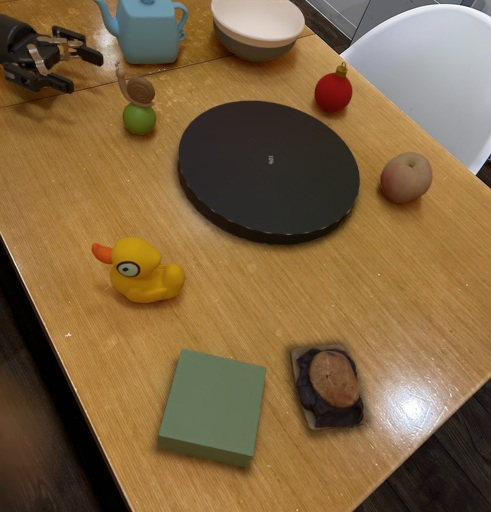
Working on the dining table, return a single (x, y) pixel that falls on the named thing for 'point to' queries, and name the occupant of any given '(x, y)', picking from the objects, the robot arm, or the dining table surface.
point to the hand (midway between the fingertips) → (88, 73)
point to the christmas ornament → (334, 90)
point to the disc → (267, 172)
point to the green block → (213, 408)
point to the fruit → (406, 177)
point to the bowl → (257, 27)
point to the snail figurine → (137, 103)
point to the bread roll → (327, 387)
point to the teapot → (146, 29)
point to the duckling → (140, 270)
